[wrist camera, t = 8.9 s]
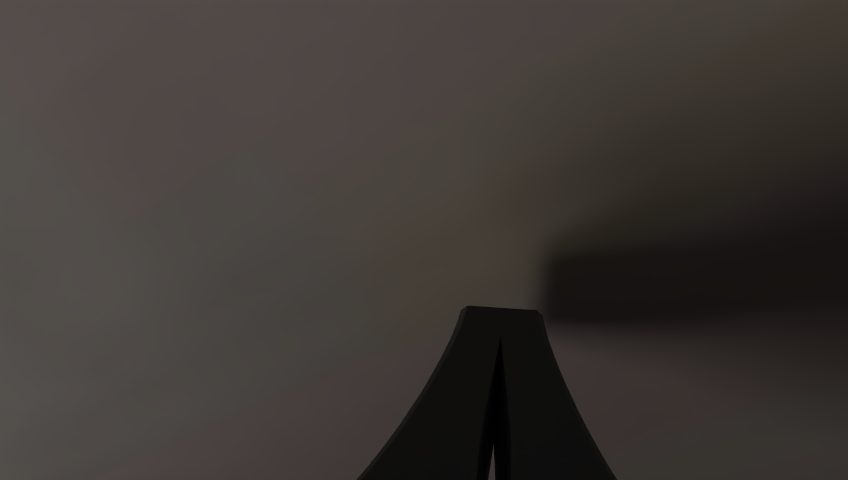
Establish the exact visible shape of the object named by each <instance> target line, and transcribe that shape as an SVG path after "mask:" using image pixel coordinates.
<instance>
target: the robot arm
mask: <svg viewBox="0 0 848 480" xmlns="http://www.w3.org/2000/svg"><path fill="white" fill-rule="evenodd" d="M493 444H494V460H495V480H617V479H616V478H615V476H614V474H613V473H612V471H611V469H610V468H609V466H608V464H607V463H606V461H605V459H604V458H603V456H602V454H601V453H600V451H599V449H598V447H597V445H596V444H595V442H594V440H593V438H592V436H591V434H590V433H589V431H588V429H587V427H586V425H585V423H584V421H583V419H582V417H581V415H580V413H579V412H578V410H577V407H576V405H575V403H574V401H573V399H572V397H571V394H570V392H569V390H568V388H567V386H566V384H565V381H564V379H563V377H562V374H561V372H560V370H559V367H558V365H557V362H556V359H555V357H554V354H553V351H552V349H551V346H550V343H549V340H548V336H547V333H546V329H545V325H544V321H543V316H542V315H541V314H540V313H539V312H538V311H537V310H523V309H509V308H494V307H480V306H466V307H465V308H463V309H462V310H461V312H460V315H459V319H458V322H457V324H456V327H455V329H454V332H453V334H452V336H451V339H450V341H449V343H448V345H447V347H446V349H445V351H444V353H443V355H442V357H441V359H440V361H439V363H438V364H437V366H436V368H435V370H434V371H433V373H432V375H431V377H430V378H429V380H428V382H427V384H426V385H425V387H424V389H423V390H422V392H421V394H420V395H419V397H418V398H417V400H416V401H415V403H414V404H413V406H412V407H411V409H410V410H409V412H408V413H407V415H406V416H405V418H404V419H403V421H402V422H401V424H400V425H399V427H398V428H397V429H396V431H395V432H394V433H393V435H392V436H391V438H390V439H389V440H388V442H387V443H386V444H385V446H384V447H383V448H382V449H381V451H380V452H379V453H378V454H377V456H376V457H375V458H374V459H373V461H372V462H371V463H370V464H369V466H368V467H367V468H366V469H365V470H364V472H363V473H362V474H361V475H360V476H359V477H358V478H357V480H488V477H489V471H490V464H491V458H492V451H493Z"/></svg>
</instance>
